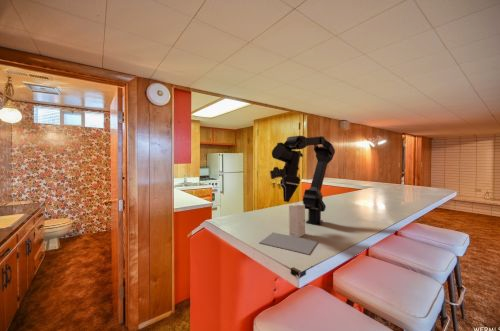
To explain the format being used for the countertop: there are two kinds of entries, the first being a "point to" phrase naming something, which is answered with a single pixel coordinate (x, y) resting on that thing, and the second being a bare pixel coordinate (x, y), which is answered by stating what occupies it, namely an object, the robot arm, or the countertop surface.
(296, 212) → the skincare box
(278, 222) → the countertop surface
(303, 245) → the mat
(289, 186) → the robot arm
